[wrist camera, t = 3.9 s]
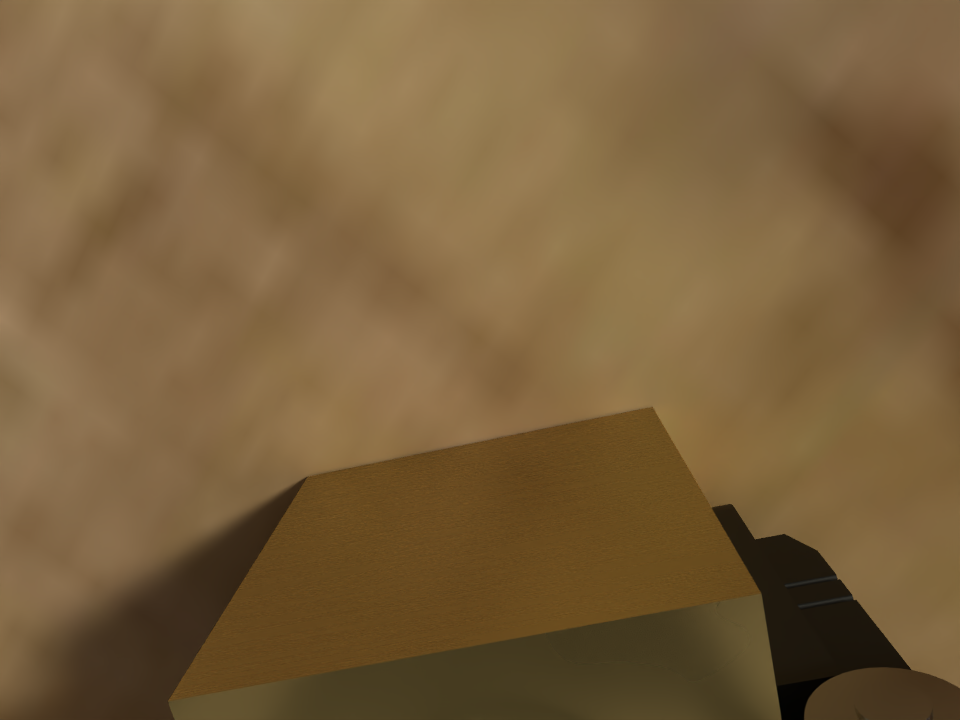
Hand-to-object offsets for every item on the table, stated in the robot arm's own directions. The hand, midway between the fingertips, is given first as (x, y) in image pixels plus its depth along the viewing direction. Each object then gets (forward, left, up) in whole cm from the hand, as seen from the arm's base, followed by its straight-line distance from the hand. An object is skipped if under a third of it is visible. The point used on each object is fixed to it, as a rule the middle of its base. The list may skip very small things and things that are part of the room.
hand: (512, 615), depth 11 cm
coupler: (0, 0, 0) cm, 0 cm away
